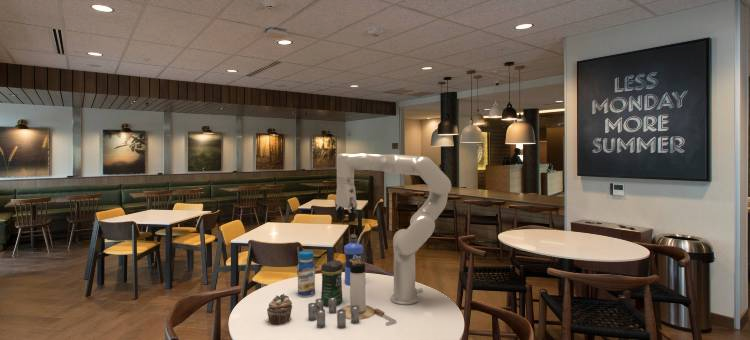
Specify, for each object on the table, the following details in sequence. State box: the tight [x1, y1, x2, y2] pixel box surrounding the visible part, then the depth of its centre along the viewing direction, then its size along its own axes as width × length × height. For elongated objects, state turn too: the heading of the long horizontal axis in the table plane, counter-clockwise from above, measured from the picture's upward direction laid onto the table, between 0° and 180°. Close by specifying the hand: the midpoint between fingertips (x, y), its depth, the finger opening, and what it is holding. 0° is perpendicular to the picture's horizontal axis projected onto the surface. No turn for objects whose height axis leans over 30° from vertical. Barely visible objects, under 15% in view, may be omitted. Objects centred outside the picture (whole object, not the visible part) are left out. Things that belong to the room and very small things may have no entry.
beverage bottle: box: [296, 250, 316, 298], centre depth 186 cm, size 8×8×20 cm
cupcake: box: [266, 293, 293, 326], centre depth 156 cm, size 10×10×10 cm
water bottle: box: [343, 233, 364, 287], centre depth 203 cm, size 9×9×25 cm
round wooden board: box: [339, 304, 375, 320], centre depth 165 cm, size 15×15×1 cm
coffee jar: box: [320, 259, 343, 307], centre depth 175 cm, size 10×8×19 cm
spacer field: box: [307, 297, 360, 330], centre depth 157 cm, size 16×19×6 cm
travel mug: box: [349, 263, 367, 314], centre depth 164 cm, size 6×7×20 cm
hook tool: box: [373, 308, 397, 326], centre depth 158 cm, size 13×5×2 cm, turn 36°
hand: (345, 220), depth 176 cm, fingers open, 9 cm apart
